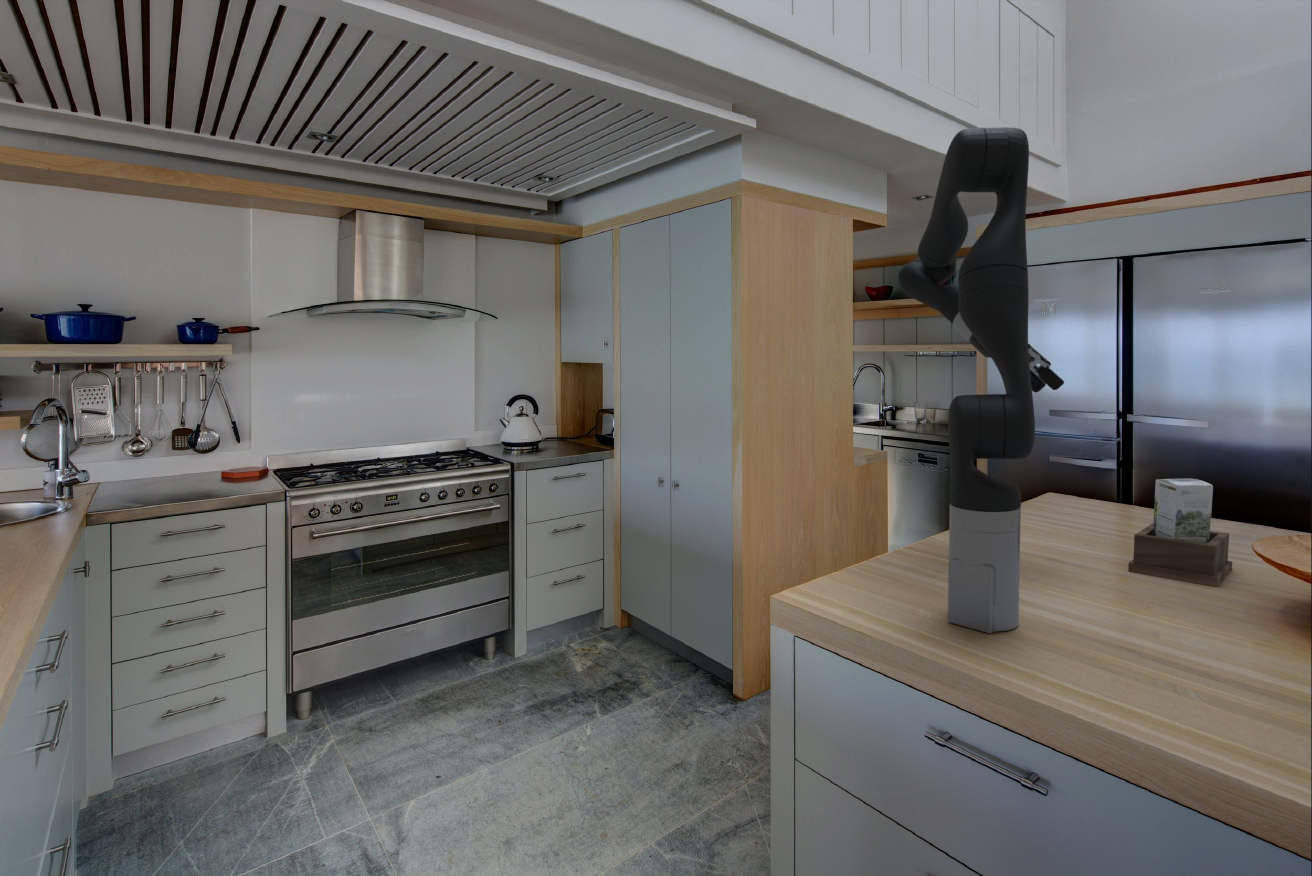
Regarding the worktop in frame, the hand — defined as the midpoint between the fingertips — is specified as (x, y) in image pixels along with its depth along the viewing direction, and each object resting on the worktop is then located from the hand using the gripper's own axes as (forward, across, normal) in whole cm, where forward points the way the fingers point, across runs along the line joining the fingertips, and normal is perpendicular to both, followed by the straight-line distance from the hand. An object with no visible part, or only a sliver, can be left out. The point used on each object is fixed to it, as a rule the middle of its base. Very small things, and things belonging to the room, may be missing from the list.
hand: (1050, 387), depth 115 cm
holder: (+35, +13, +11) cm, 39 cm away
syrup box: (+34, +13, +10) cm, 38 cm away
